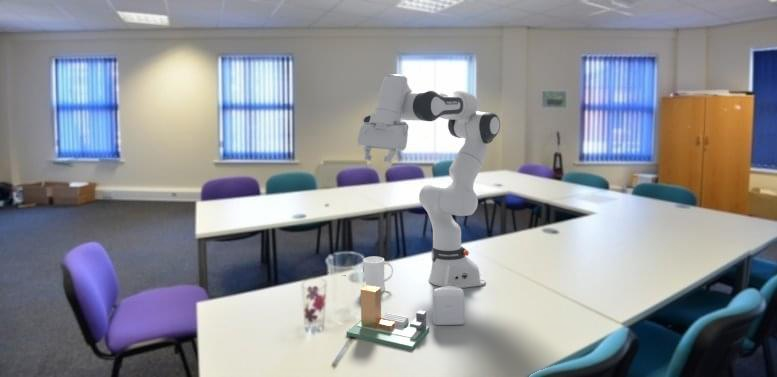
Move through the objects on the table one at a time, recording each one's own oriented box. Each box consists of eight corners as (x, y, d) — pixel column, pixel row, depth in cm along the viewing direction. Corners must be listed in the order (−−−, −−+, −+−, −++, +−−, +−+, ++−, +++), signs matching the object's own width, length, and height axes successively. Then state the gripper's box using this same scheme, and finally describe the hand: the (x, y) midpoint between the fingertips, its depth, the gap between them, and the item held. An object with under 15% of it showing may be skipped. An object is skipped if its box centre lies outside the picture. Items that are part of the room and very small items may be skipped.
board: (346, 335, 150) (346, 315, 149) (367, 317, 163) (367, 299, 162) (412, 350, 141) (412, 329, 140) (429, 330, 153) (429, 311, 152)
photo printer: (433, 326, 156) (433, 289, 154) (431, 320, 160) (432, 284, 158) (464, 326, 156) (465, 289, 154) (463, 320, 160) (463, 284, 158)
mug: (391, 284, 193) (391, 255, 191) (395, 292, 185) (394, 261, 183) (362, 285, 191) (361, 256, 189) (364, 294, 183) (363, 263, 181)
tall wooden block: (361, 325, 153) (360, 289, 151) (367, 320, 157) (366, 285, 155) (389, 331, 149) (389, 294, 147) (395, 326, 153) (395, 290, 151)
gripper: (415, 124, 157) (406, 166, 156) (372, 123, 171) (363, 161, 170) (402, 118, 153) (393, 161, 152) (359, 117, 167) (350, 156, 166)
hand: (377, 161), depth 161 cm, fingers open, 8 cm apart
